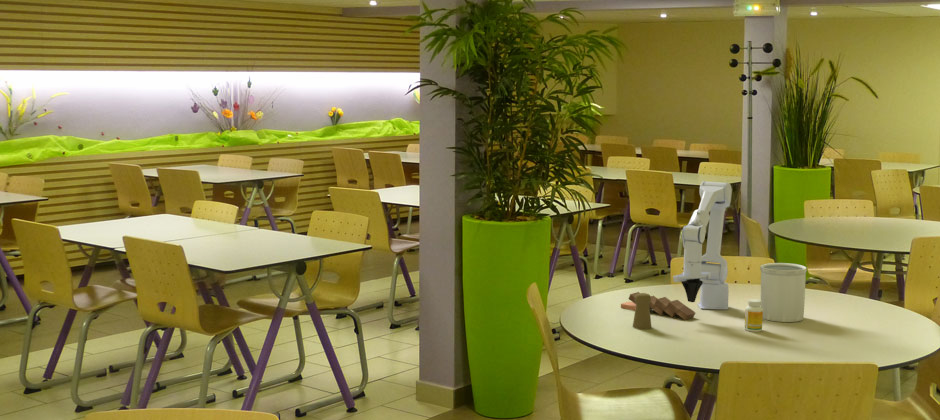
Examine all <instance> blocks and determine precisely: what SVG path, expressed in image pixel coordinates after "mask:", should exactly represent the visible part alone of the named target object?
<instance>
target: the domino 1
mask: <svg viewBox="0 0 940 420" xmlns="http://www.w3.org/2000/svg"><path fill="white" fill-rule="evenodd" d="M620 308H621V309H626V310H631V311H635V309H636V304H635V303H633V302H632V301H626V302H622V303H620Z"/></svg>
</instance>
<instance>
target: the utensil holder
mask: <svg viewBox="0 0 940 420" xmlns="http://www.w3.org/2000/svg"><path fill="white" fill-rule="evenodd" d="M759 267H760V269H759V270H760V300H761V306H760V307H762V308H763V319H764V320H768V321H772V322H778V323H779V322H780V323H795V322H800V321H803V320H804V316H805V299H806V298H805V297H806V277H807V276H806V273H807V271H808V269H807V266H804V265H801V264H797V263H787V262H771V263H770V262H769V263H765V264H761V265H760V266H759Z"/></svg>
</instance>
